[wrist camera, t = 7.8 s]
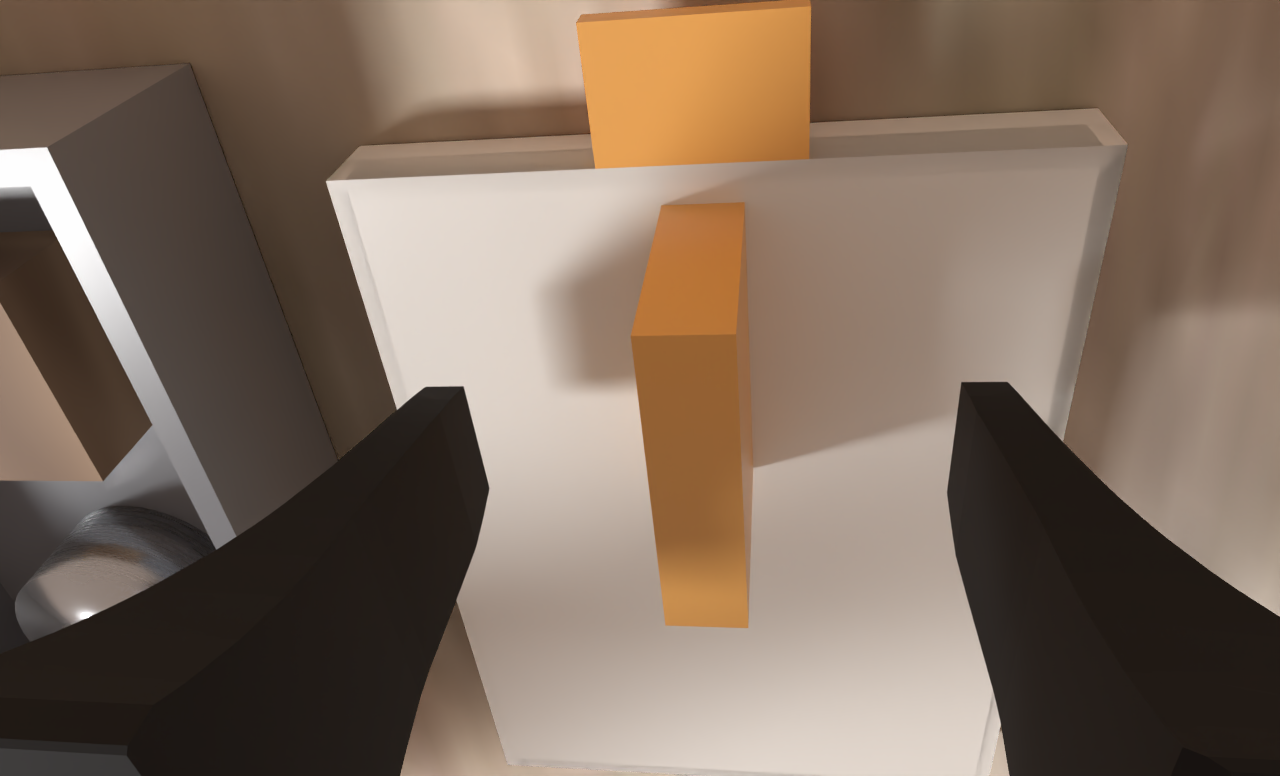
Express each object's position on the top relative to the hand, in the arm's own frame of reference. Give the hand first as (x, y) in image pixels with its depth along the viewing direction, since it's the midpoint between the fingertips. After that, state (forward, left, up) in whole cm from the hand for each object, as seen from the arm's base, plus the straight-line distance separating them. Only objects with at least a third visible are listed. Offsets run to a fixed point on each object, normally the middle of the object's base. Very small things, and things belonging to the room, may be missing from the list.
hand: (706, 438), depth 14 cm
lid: (0, -3, -3) cm, 4 cm away
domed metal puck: (-13, -6, -3) cm, 15 cm away
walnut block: (-13, +1, -3) cm, 13 cm away
